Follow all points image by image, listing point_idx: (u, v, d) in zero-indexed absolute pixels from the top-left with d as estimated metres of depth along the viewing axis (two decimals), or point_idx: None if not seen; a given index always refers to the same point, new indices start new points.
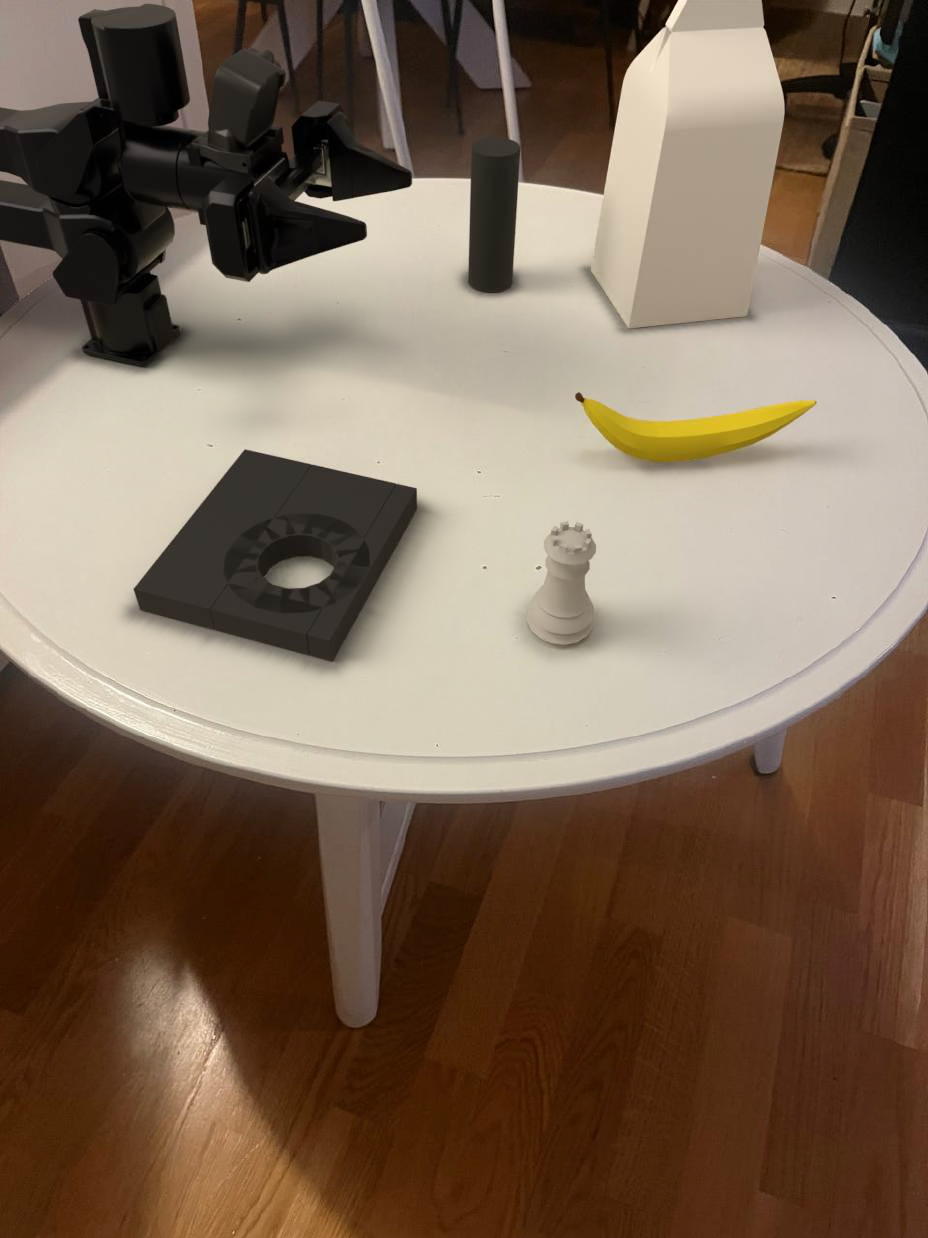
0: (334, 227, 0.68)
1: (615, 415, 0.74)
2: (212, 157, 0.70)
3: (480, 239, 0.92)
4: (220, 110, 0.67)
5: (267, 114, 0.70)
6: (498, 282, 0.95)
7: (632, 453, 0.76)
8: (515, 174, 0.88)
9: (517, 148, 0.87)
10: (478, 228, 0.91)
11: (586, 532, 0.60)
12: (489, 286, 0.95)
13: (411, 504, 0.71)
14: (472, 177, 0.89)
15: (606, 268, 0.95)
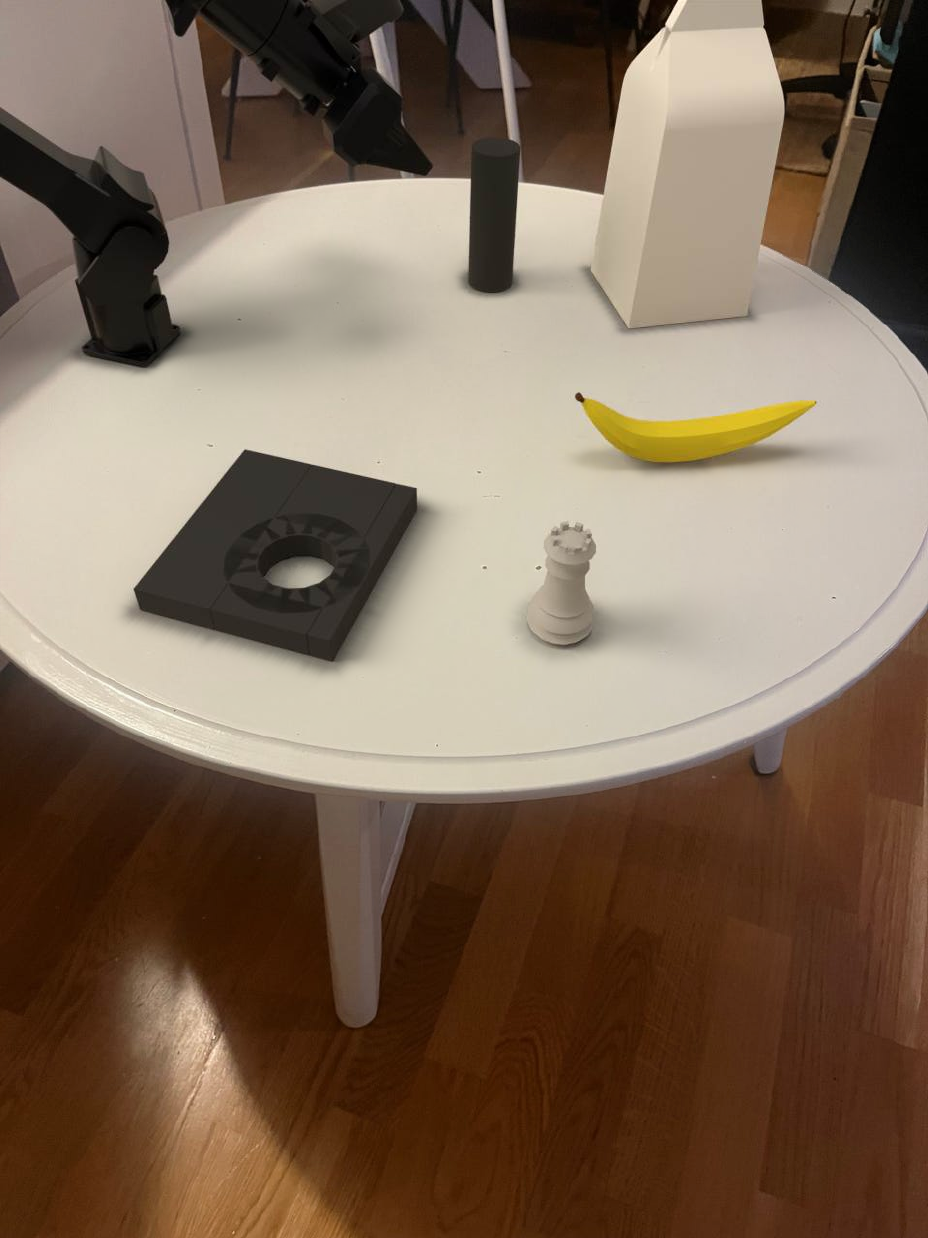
0: (416, 156, 0.79)
1: (615, 415, 0.74)
2: (327, 32, 0.73)
3: (480, 239, 0.92)
4: (362, 3, 0.73)
5: None
6: (498, 282, 0.95)
7: (632, 453, 0.76)
8: (515, 174, 0.88)
9: (517, 148, 0.87)
10: (478, 228, 0.91)
11: (586, 532, 0.60)
12: (489, 286, 0.95)
13: (411, 504, 0.71)
14: (472, 177, 0.89)
15: (606, 268, 0.95)
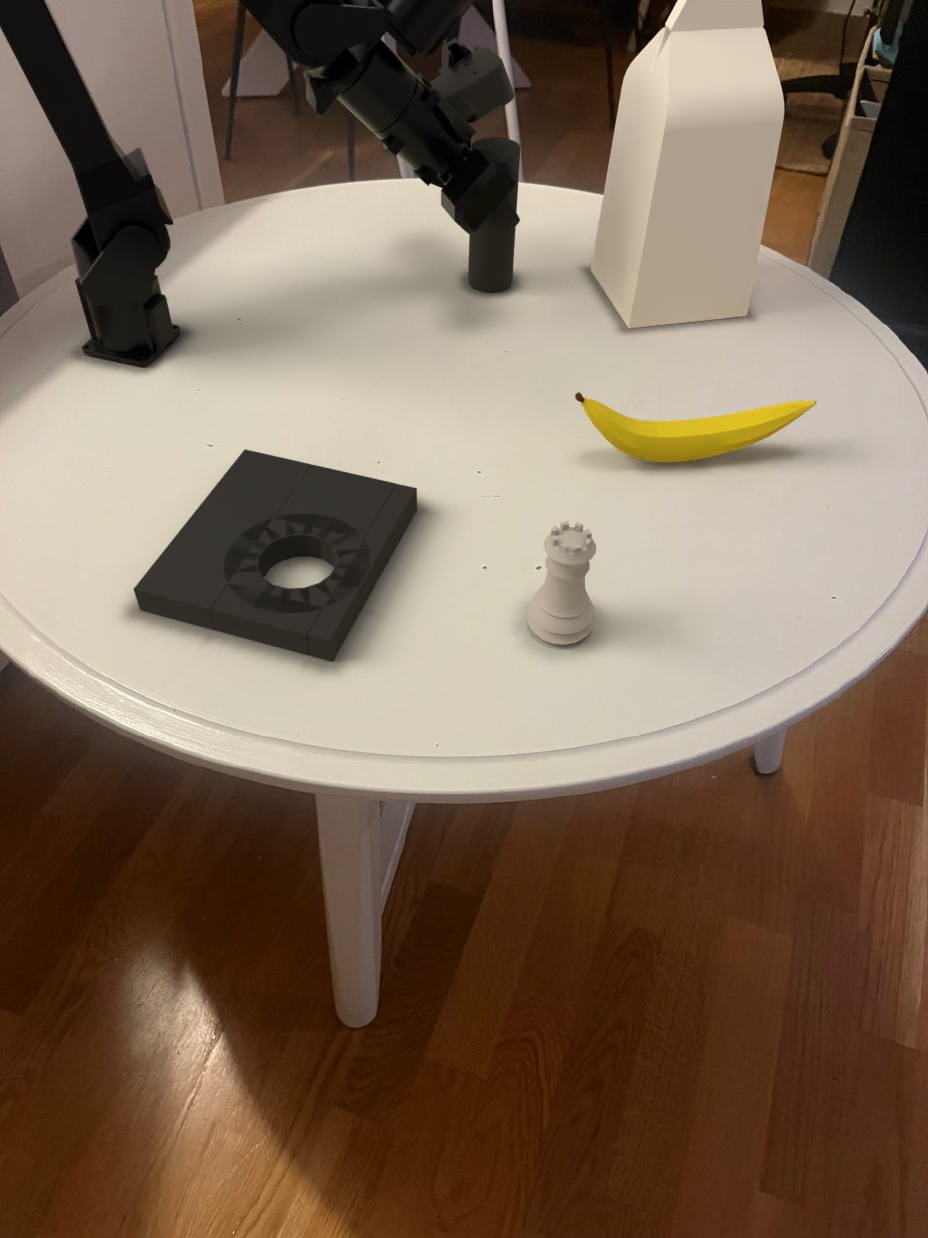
0: (508, 212, 0.89)
1: (615, 415, 0.74)
2: (449, 114, 0.81)
3: (480, 239, 0.92)
4: (481, 89, 0.81)
5: None
6: (498, 282, 0.95)
7: (632, 453, 0.76)
8: None
9: (517, 148, 0.87)
10: (478, 228, 0.91)
11: (586, 532, 0.60)
12: (489, 286, 0.95)
13: (411, 504, 0.71)
14: None
15: (606, 268, 0.95)
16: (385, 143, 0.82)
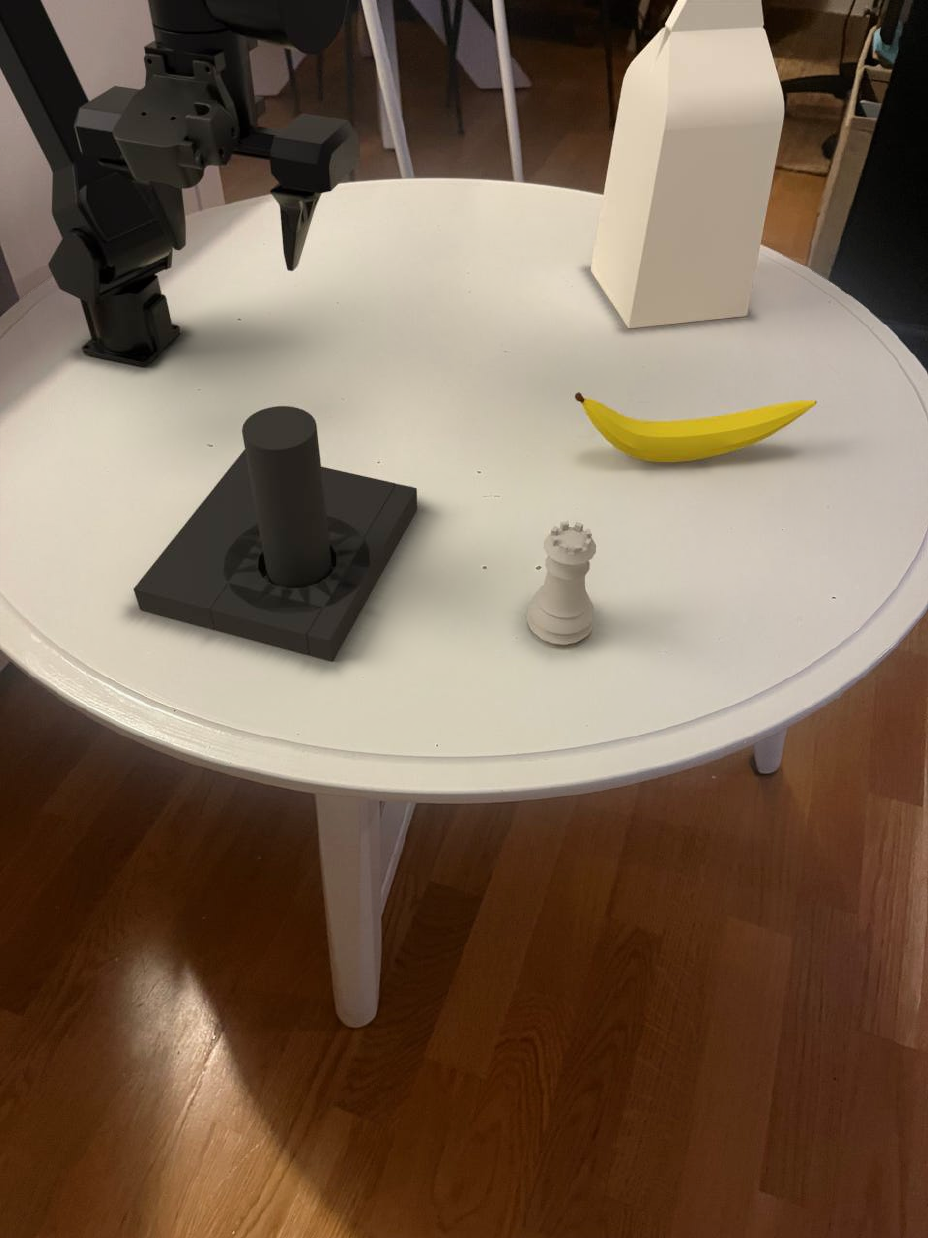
0: None
1: (615, 415, 0.74)
2: None
3: None
4: None
5: None
6: None
7: (632, 453, 0.76)
8: (262, 472, 0.58)
9: (273, 447, 0.57)
10: None
11: (586, 532, 0.60)
12: None
13: (411, 504, 0.71)
14: None
15: (606, 268, 0.95)
16: None
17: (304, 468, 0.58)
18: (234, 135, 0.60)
